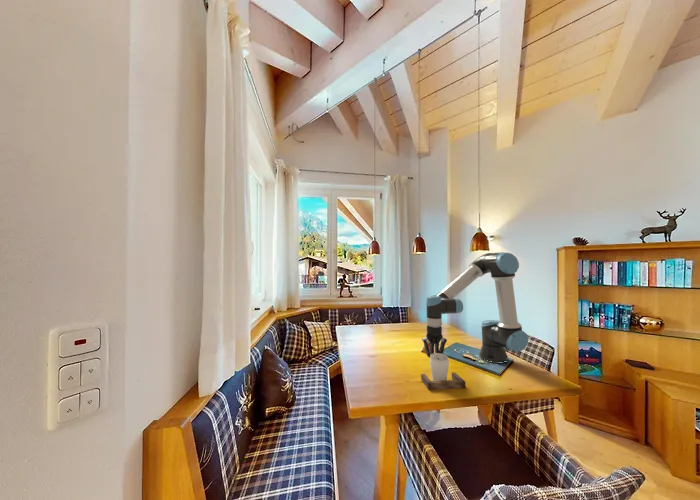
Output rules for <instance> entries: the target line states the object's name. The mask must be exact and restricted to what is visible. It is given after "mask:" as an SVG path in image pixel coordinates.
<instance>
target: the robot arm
mask: <svg viewBox="0 0 700 500" xmlns="http://www.w3.org/2000/svg"><path fill="white" fill-rule="evenodd" d="M519 268H520V263H519V260H518V258H517V257H516V256H515V255H514V254H512V253H510V252H504V251H503V252H488V253H485V254H481V256H479V257H477V258H476V259H475V260H473V261H472V262H471V263H470V264H469V265H468V268H467V269H466V270H464V271H463V272H462V273H461V274H460V275H458V277H456V278H455V279H453V281H452V282H450V283H449V284H448V285H447V286H446V287H445V288H443V289H442V290H440V292H439V293H437V294H433V295H428V296H427V297H426V303H425V305H426V336H425V337H424V338H421V341H422V343H423V345H424V349H425V353H426V356H427V357H428V358H429V359H430V355H431V354H433V353H441V354H444V351H445V347H446V343H447V342H448V339H447V338H445V337H443V327H442V325H443V324H442V323H443V321H442V317H443V316H442V315H445V314H446V315H448V314H451V315H452V314H461V313H463V311H464V303H463V302H462V300H461V299H459V298H456V297H457V296H458V295H459V294H460V293H462V292H463V291H465V289H466V288H468V286H470V285H471V284H472V283H474V281H476V280H477V279H478V278H479V277H483V276H485V275H486V274H488V273H489V274H490V277H491V279H493V280H494V284H495V285H494V286H495V293H496V298H497V299H496V300H497V301H496V302H497V308H498V316H499V320H497V319H495V320H492V319H491V320H490V319H488V320H487V319H486V320H482V322H481V342H482V344H481V345H482V346H481V348H480V350H479V351H480V352H479V358H480V357H481V358H483V359H485V360H488V361H492V362H504V361H507V360H508V361H509V357H508V354H507V351H506V349H508V350H509V351H513V352H521V351H523V350H525V348H526V347H527V346H528V344H529V335H528V333H526V332H525V331H524V330H523V328H522V327H523V326H522V324H521V323H520V322H518V321H519V320H518V315H517V305H516V296H515V289H514V282H513V279H514V278H515V277H516V272H518V270H519ZM428 342H429V344H428ZM429 345H430V346H429ZM481 358H480V359H481ZM437 359H438V360H439V358H437Z"/></svg>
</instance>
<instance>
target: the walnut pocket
mask: <svg viewBox="0 0 700 500" xmlns="http://www.w3.org/2000/svg"><path fill="white" fill-rule="evenodd" d="M420 379H421V382H422V383H423V385H424V386H425V387H426V388H427V390H428V391H430V390H448V389H449V390H450V389H451V390H453V389H466V380H464V379H463V378H462V377H461V376H460V375H459V374H458V373H456V372H454V371H453V372H451V379H448V380H444V381H433V380H430V378H429V377H428V376H427V375H426V373H421V374H420Z"/></svg>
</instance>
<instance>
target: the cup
mask: <svg viewBox="0 0 700 500" xmlns="http://www.w3.org/2000/svg"><path fill="white" fill-rule="evenodd" d="M437 358H439V360H438V359H437ZM449 365H450V363H449V357H448V356H447V355H446V354H444V353H443V354H441V353H435V352H434V353H433V354H431V355H430V358H429V367H430V372H431V379H432V381H444V380H447V379H448V372H449Z"/></svg>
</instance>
